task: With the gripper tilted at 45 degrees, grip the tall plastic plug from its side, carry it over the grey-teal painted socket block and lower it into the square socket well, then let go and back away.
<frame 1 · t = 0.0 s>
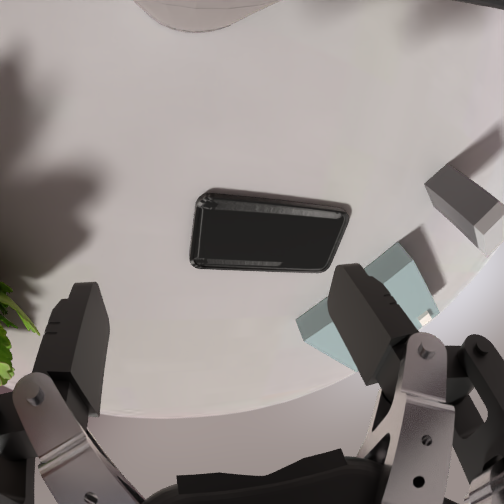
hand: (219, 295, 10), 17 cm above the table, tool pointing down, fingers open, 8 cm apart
plug: (440, 185, 31), on the table
phone: (268, 232, 31), on the table
socket: (371, 308, 42), on the table
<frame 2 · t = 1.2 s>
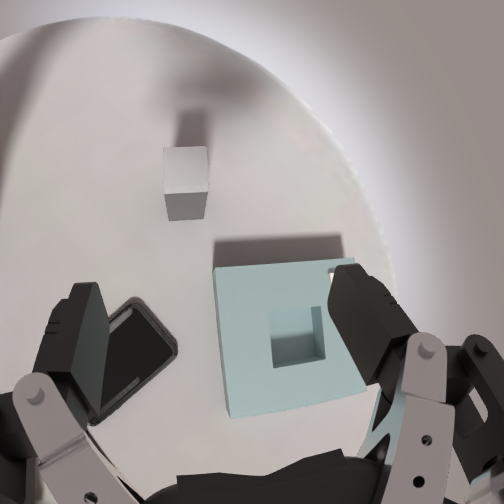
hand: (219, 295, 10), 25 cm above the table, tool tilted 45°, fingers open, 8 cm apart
plug: (185, 203, 37), on the table
phone: (113, 366, 32), on the table
socket: (287, 335, 36), on the table
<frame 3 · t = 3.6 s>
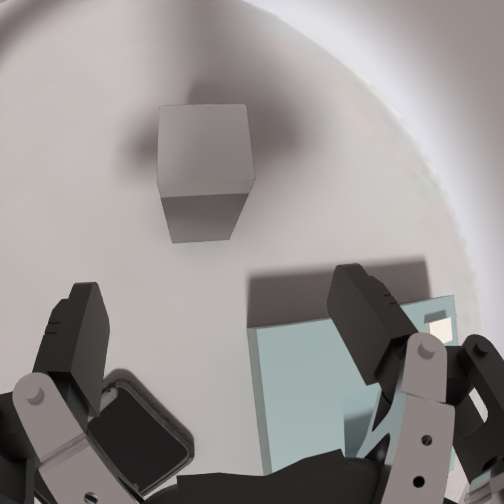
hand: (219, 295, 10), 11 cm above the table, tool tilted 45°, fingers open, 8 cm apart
plug: (199, 214, 22), on the table
phone: (97, 464, 17), on the table
socket: (358, 412, 21), on the table
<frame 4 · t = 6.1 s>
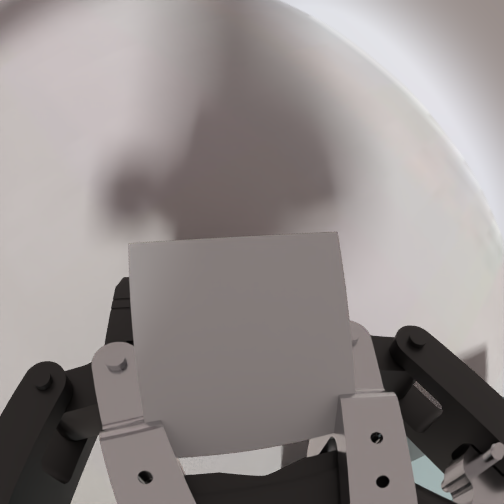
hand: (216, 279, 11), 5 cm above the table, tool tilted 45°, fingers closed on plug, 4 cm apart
plug: (214, 330, 15), on the table, touching gripper
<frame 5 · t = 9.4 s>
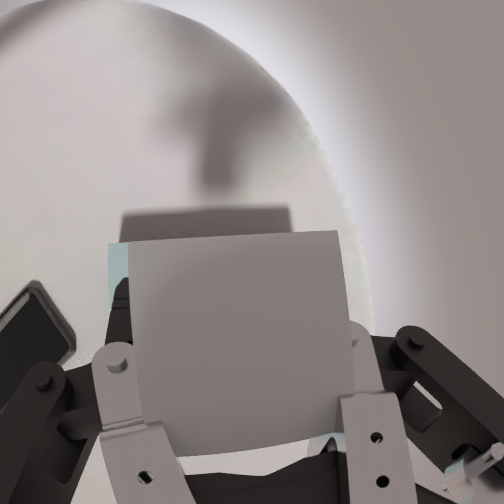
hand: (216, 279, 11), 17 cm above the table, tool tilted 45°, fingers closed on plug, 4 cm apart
plug: (214, 330, 15), point 13 cm above the table, touching gripper
phone: (15, 360, 23), on the table
socket: (210, 335, 27), on the table
when the fingers open (6 cm above the table, at t = 12.5 s): plug drops 1 cm, resting on socket.
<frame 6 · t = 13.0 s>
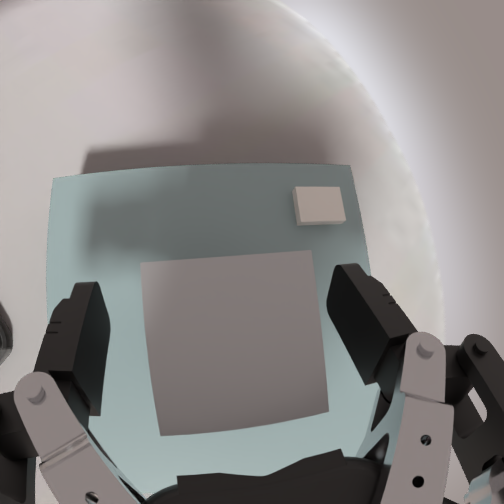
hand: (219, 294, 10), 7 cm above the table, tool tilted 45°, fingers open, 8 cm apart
plug: (213, 331, 16), resting on socket
socket: (212, 329, 17), on the table
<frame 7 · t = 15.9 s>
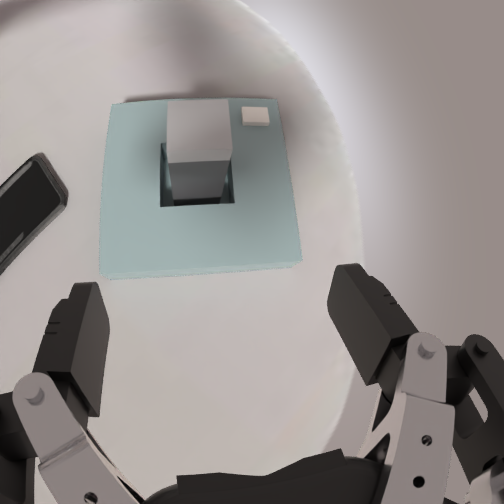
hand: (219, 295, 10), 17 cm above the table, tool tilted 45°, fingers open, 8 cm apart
plug: (195, 186, 28), resting on socket
phone: (6, 228, 25), on the table
socket: (195, 188, 29), on the table
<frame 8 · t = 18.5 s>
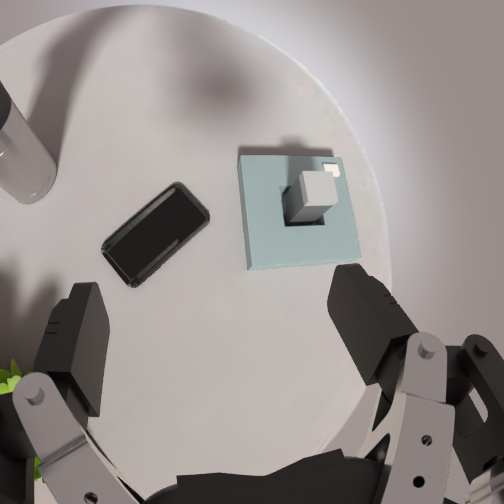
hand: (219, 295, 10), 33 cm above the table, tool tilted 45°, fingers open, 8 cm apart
plug: (296, 212, 47), resting on socket
phone: (155, 236, 43), on the table
socket: (294, 213, 47), on the table
potted flower: (18, 409, 33), on the table
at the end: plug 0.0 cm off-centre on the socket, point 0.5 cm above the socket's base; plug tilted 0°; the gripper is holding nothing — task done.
